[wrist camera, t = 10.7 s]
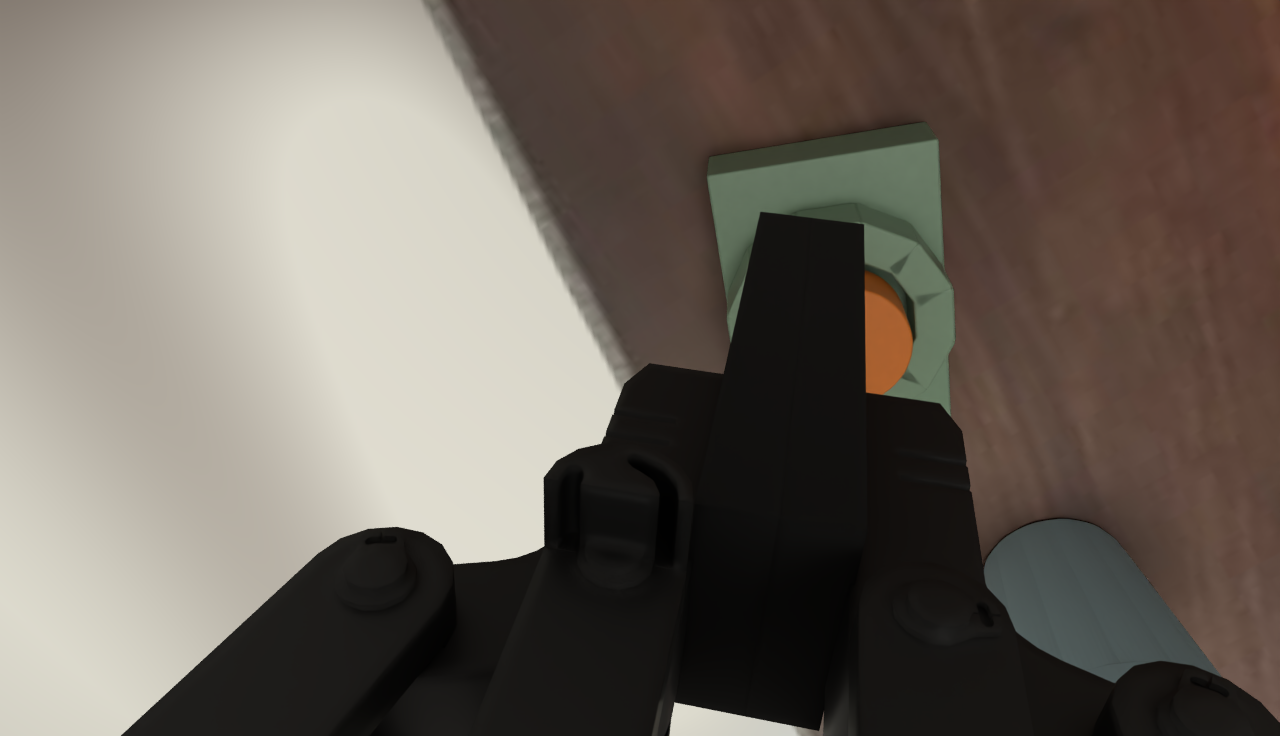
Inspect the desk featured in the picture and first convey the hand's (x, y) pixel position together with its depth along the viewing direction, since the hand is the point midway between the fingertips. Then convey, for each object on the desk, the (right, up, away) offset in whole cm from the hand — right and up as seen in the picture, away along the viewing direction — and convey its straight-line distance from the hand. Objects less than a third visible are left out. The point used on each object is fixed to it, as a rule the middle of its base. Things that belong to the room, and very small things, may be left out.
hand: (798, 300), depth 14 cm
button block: (+4, +2, +18) cm, 19 cm away
